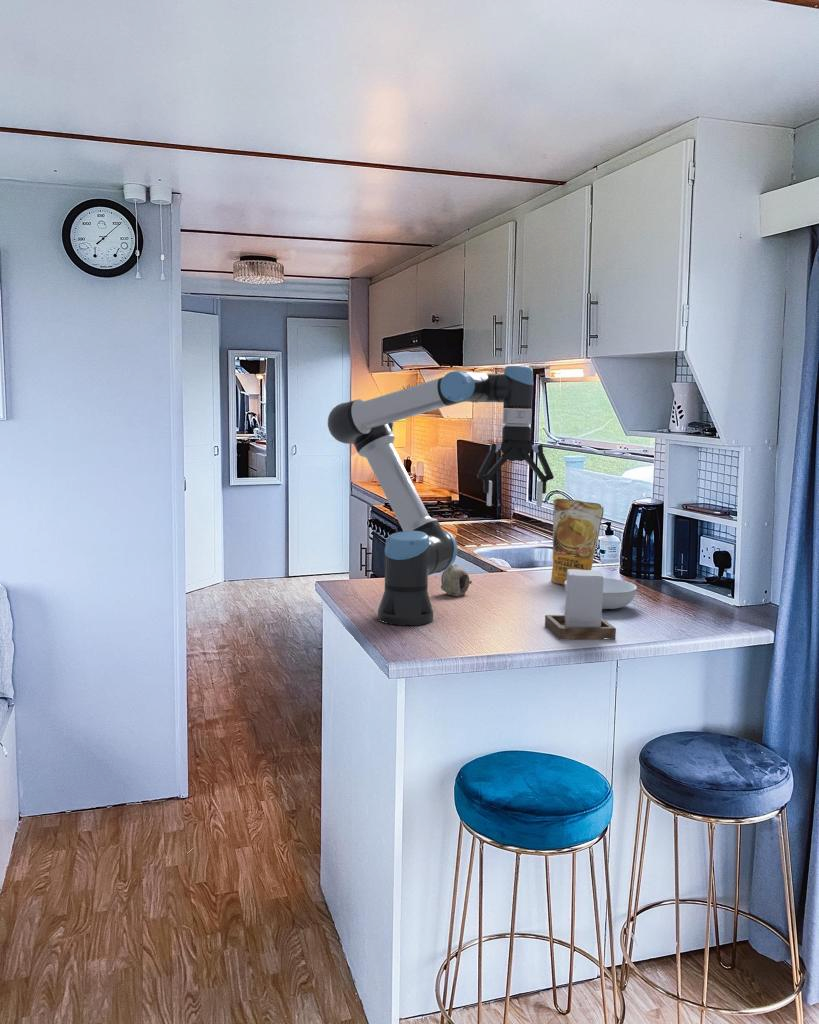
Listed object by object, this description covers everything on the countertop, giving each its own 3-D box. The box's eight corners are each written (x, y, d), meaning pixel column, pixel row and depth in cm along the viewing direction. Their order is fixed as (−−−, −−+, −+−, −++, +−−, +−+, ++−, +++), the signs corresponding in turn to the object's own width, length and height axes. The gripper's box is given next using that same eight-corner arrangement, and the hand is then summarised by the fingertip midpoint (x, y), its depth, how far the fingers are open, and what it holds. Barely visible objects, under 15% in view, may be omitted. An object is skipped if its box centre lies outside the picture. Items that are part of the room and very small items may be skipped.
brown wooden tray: (559, 639, 217) (560, 628, 217) (544, 625, 231) (545, 614, 231) (615, 639, 219) (615, 628, 218) (597, 624, 233) (597, 614, 233)
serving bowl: (554, 609, 250) (555, 585, 250) (575, 596, 269) (576, 574, 268) (625, 618, 241) (627, 594, 240) (643, 604, 259) (644, 581, 258)
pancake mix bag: (556, 578, 295) (560, 497, 292) (601, 588, 280) (605, 503, 277) (543, 581, 291) (546, 498, 287) (587, 591, 276) (592, 504, 273)
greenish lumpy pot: (443, 603, 265) (433, 574, 263) (447, 593, 273) (437, 564, 271) (473, 596, 263) (463, 566, 260) (475, 586, 271) (466, 557, 268)
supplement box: (601, 634, 220) (604, 576, 218) (565, 632, 221) (568, 574, 219) (598, 625, 229) (601, 569, 227) (564, 623, 230) (566, 568, 228)
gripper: (472, 424, 222) (470, 506, 225) (567, 426, 225) (563, 507, 228) (467, 424, 230) (465, 503, 232) (559, 426, 232) (555, 504, 235)
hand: (514, 505), depth 230 cm, fingers open, 13 cm apart
